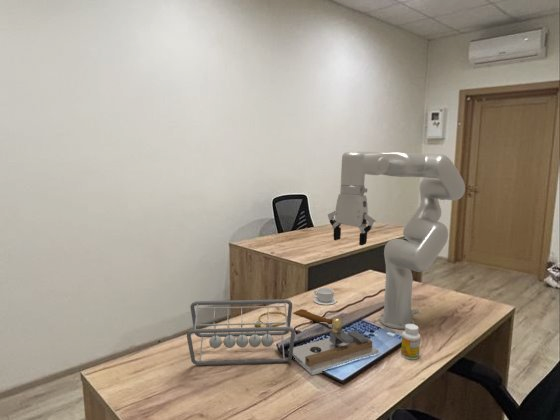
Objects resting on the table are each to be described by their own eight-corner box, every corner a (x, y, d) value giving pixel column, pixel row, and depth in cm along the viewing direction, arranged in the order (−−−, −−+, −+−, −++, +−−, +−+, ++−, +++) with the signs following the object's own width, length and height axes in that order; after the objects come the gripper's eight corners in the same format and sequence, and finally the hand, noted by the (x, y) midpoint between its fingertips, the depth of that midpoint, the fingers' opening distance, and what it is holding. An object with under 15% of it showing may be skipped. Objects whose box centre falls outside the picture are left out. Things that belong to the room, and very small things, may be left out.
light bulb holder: (337, 340, 132) (338, 316, 131) (352, 351, 125) (353, 325, 124) (329, 342, 131) (330, 317, 130) (344, 353, 124) (345, 327, 123)
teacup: (340, 299, 172) (340, 289, 172) (330, 307, 164) (330, 296, 163) (319, 295, 178) (319, 285, 177) (309, 302, 169) (309, 291, 168)
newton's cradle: (191, 366, 120) (185, 332, 108) (195, 335, 127) (189, 300, 116) (291, 362, 122) (295, 329, 110) (289, 332, 130) (292, 298, 118)
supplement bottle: (398, 351, 129) (400, 322, 127) (414, 350, 129) (416, 322, 128) (404, 360, 124) (406, 330, 122) (421, 359, 124) (423, 330, 123)
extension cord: (243, 322, 150) (243, 317, 150) (275, 311, 160) (275, 307, 160) (264, 334, 141) (264, 329, 140) (296, 322, 151) (296, 317, 151)
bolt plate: (350, 336, 139) (351, 323, 138) (378, 354, 127) (379, 341, 126) (287, 353, 127) (288, 340, 126) (312, 375, 115) (312, 360, 114)
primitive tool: (292, 314, 158) (292, 305, 157) (301, 310, 162) (301, 302, 161) (329, 330, 144) (330, 321, 143) (339, 326, 148) (339, 317, 147)
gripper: (382, 192, 127) (378, 244, 130) (335, 187, 138) (333, 236, 141) (370, 193, 121) (367, 248, 124) (323, 189, 133) (321, 239, 135)
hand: (349, 242), depth 132 cm, fingers open, 9 cm apart
